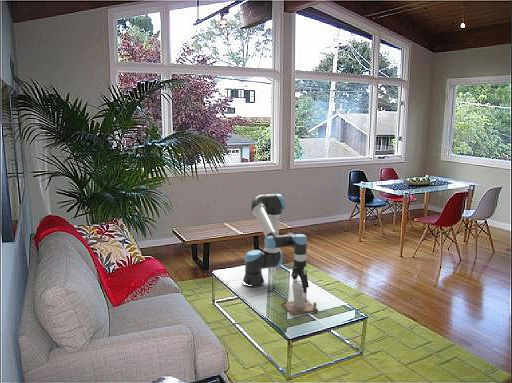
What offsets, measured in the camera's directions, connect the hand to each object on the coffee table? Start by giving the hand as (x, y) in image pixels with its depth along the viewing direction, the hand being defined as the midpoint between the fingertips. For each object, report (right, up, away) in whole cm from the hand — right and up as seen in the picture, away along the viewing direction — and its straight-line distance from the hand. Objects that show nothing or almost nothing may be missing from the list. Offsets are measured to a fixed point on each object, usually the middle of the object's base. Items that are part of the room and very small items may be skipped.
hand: (299, 293), depth 260 cm
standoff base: (0, -9, +1) cm, 10 cm away
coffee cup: (0, -8, +1) cm, 9 cm away
